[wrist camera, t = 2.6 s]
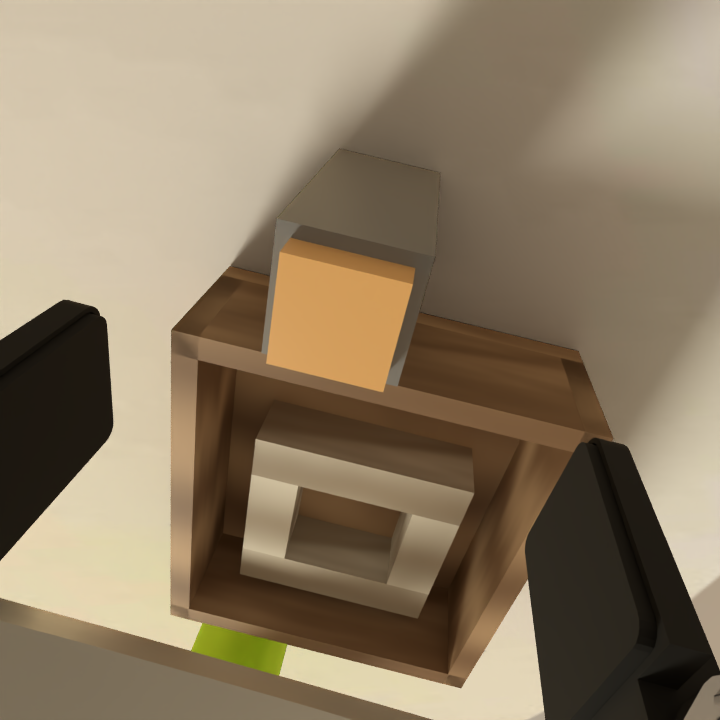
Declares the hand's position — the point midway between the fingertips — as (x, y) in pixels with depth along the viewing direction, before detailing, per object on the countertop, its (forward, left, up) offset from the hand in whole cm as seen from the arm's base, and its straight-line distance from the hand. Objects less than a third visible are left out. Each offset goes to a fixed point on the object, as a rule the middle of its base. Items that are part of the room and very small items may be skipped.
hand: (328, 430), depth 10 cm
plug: (0, -1, -14) cm, 14 cm away
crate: (+13, +1, -14) cm, 19 cm away
